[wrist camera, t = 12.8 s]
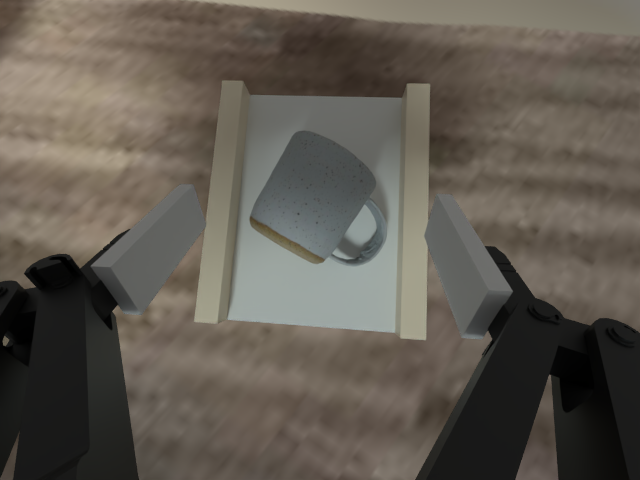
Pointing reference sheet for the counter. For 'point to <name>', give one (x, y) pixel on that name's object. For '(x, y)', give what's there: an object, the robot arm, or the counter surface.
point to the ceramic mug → (317, 200)
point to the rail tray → (331, 277)
